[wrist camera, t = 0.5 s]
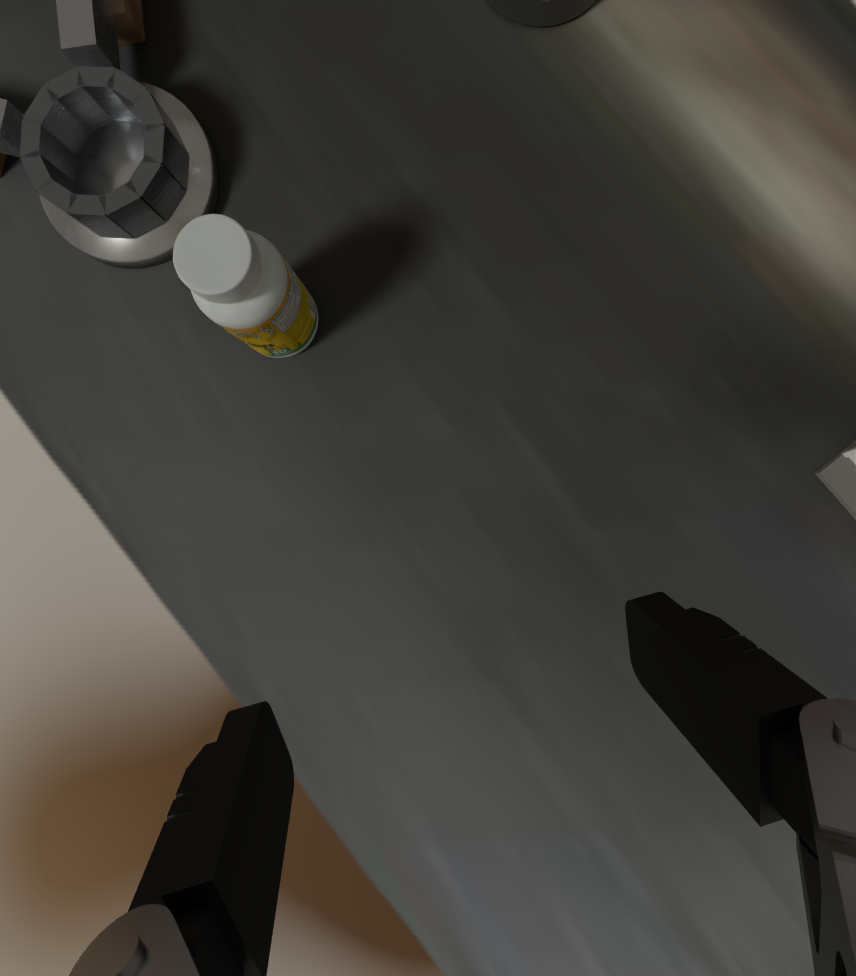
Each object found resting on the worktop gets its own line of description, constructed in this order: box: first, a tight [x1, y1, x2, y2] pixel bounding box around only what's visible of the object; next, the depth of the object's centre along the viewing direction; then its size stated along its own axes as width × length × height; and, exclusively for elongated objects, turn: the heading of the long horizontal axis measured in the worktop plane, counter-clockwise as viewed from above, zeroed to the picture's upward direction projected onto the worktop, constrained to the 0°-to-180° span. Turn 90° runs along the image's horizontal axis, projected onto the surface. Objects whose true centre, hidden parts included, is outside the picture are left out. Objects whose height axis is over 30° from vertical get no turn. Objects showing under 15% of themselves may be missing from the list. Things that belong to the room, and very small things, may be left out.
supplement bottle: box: [173, 214, 318, 358], centre depth 28 cm, size 5×5×10 cm
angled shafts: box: [0, 0, 121, 158], centre depth 30 cm, size 14×14×2 cm
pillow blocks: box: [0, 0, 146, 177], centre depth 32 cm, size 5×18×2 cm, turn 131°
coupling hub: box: [20, 66, 219, 269], centre depth 31 cm, size 12×12×4 cm
